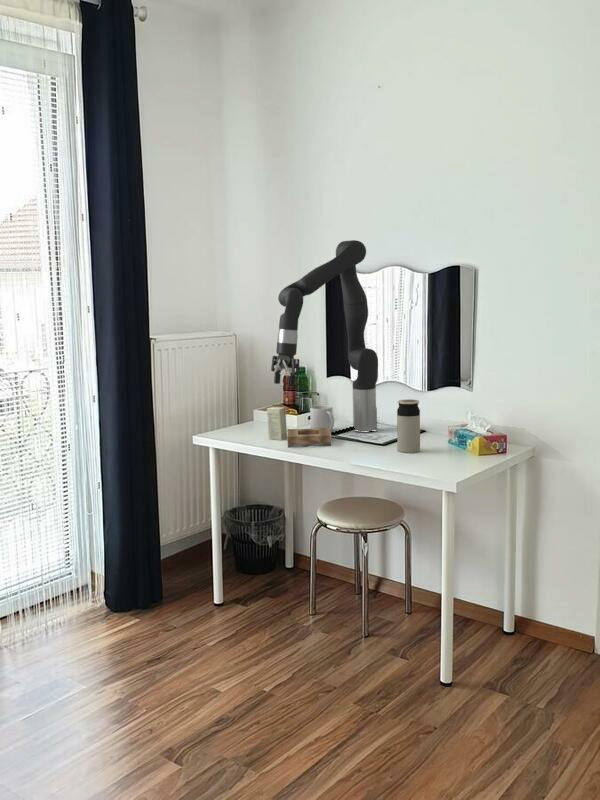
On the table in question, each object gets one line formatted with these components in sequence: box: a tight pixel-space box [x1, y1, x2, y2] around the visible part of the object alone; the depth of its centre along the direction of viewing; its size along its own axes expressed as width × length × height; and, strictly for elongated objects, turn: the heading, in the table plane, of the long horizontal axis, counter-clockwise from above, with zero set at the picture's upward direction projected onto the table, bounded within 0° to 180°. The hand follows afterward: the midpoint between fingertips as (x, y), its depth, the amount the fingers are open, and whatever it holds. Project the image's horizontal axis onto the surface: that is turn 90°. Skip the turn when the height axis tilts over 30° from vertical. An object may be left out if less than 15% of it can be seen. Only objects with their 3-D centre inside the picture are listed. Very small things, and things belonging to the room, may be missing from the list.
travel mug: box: [396, 398, 421, 454], centre depth 283 cm, size 8×8×18 cm
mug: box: [309, 404, 335, 434], centre depth 321 cm, size 11×10×10 cm
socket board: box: [286, 428, 332, 448], centre depth 303 cm, size 16×14×4 cm
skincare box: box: [266, 406, 288, 441], centre depth 311 cm, size 6×4×12 cm
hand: (283, 384), depth 302 cm, fingers open, 8 cm apart
